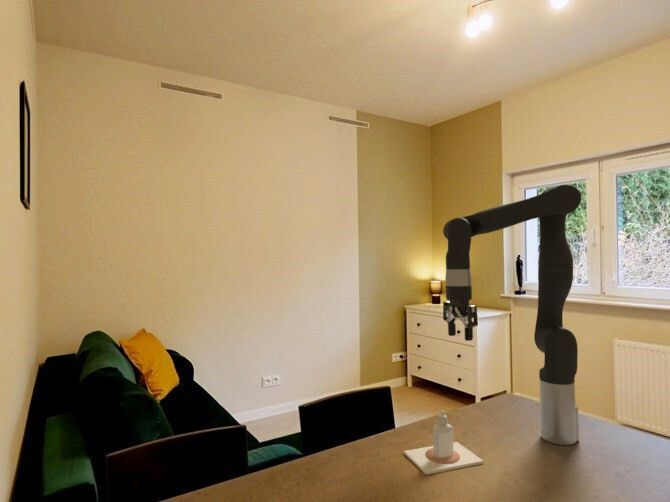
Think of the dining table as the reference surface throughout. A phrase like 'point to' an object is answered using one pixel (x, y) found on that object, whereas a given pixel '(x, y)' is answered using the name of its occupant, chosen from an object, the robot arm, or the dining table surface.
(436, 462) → the card
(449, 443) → the eye dropper bottle
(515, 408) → the dining table surface
